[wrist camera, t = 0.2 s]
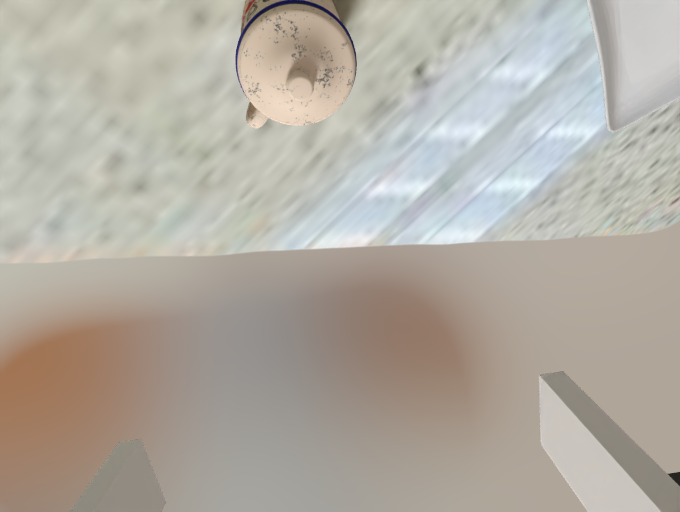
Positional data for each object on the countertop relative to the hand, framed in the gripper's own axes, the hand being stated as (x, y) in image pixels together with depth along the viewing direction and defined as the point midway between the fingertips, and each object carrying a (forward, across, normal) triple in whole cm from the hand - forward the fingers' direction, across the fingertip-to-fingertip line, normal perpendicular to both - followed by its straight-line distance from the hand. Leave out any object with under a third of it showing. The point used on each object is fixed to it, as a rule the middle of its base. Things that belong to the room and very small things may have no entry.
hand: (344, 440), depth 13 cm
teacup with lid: (+29, -2, +19) cm, 35 cm away
